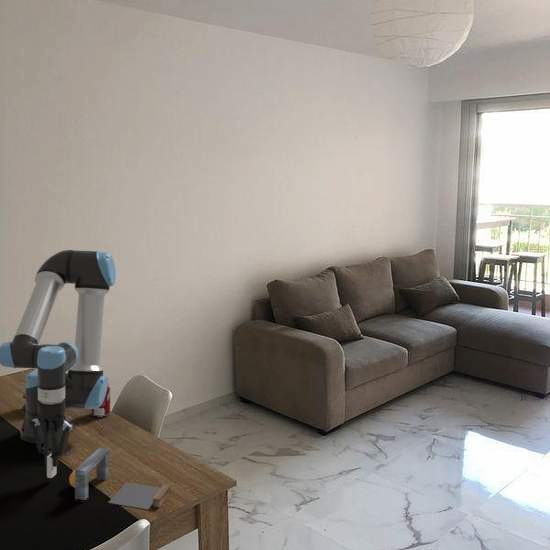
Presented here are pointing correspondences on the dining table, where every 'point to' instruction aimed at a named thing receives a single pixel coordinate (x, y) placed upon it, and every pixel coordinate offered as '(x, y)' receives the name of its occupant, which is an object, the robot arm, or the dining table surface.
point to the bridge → (82, 472)
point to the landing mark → (135, 496)
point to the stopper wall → (161, 496)
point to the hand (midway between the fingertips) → (51, 475)
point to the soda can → (103, 406)
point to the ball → (73, 479)
